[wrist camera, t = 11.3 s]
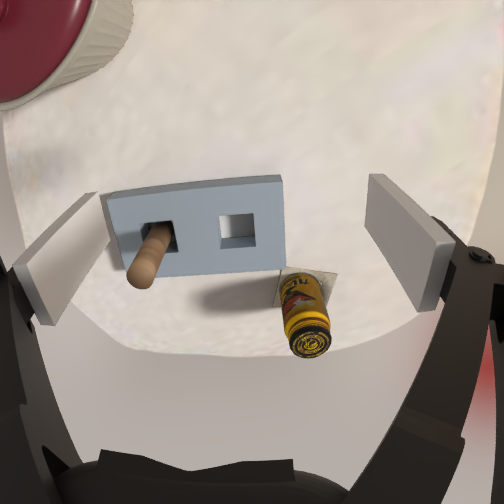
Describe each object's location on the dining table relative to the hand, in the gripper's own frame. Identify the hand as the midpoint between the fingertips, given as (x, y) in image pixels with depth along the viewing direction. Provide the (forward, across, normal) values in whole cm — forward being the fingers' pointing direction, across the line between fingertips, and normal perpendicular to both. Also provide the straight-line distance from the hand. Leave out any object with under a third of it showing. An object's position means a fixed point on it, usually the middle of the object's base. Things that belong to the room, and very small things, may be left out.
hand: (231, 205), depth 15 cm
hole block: (+25, -7, -13) cm, 29 cm away
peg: (+25, -12, -13) cm, 30 cm away
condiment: (+25, +8, -24) cm, 36 cm away
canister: (+26, -18, +16) cm, 35 cm away
